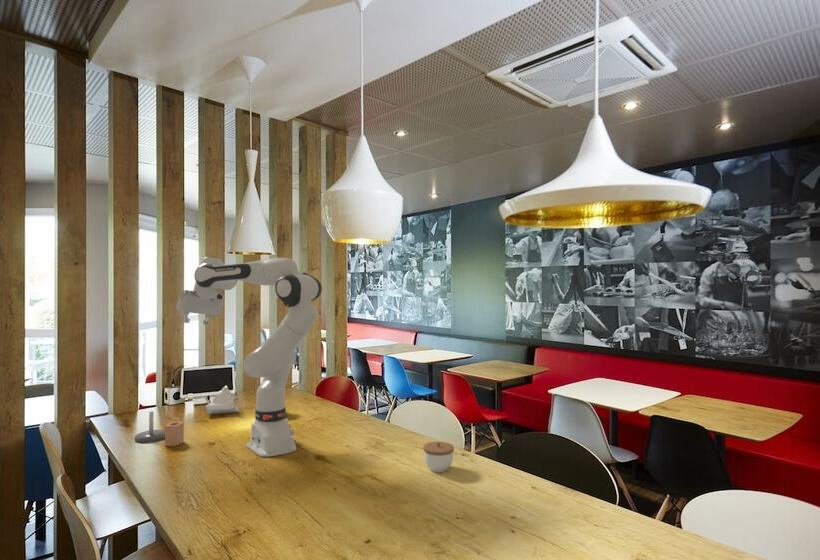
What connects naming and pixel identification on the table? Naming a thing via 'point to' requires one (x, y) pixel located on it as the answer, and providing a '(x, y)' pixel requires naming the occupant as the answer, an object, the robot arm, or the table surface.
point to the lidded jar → (438, 455)
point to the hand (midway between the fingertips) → (196, 323)
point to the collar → (174, 433)
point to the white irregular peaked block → (222, 403)
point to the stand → (150, 432)
